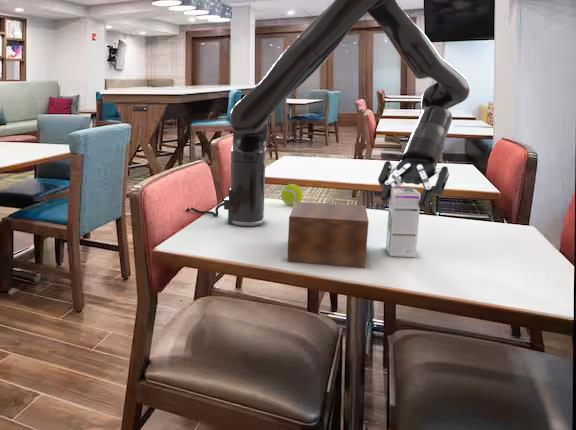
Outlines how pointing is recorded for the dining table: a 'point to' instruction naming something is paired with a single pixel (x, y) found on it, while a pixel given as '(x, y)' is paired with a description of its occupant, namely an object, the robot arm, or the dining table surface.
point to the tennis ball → (291, 194)
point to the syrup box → (403, 222)
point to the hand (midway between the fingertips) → (402, 204)
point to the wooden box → (328, 234)
